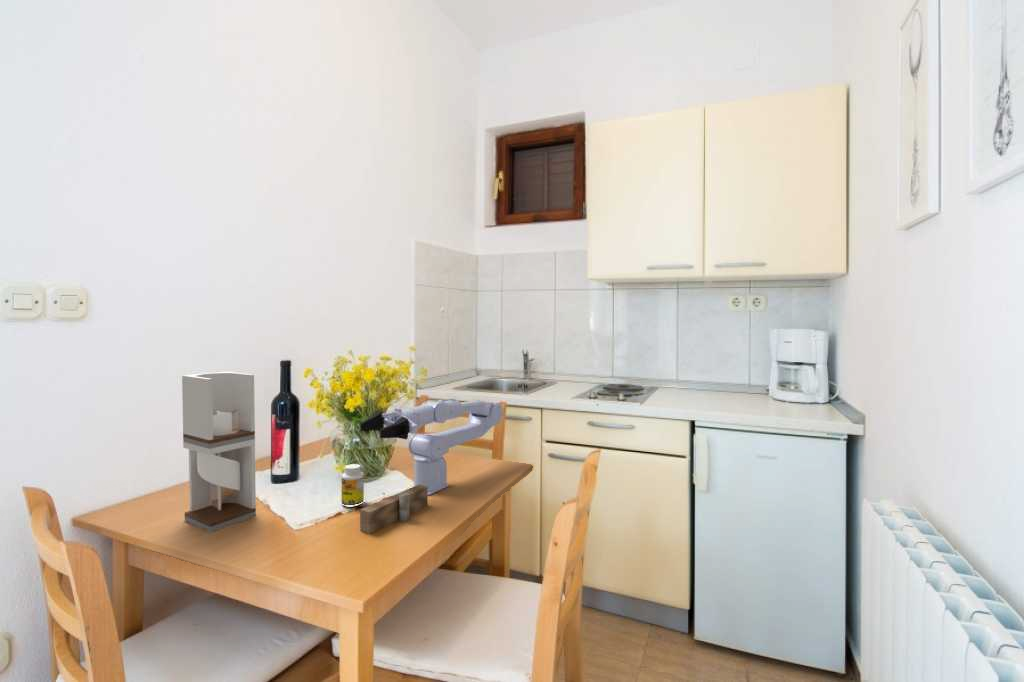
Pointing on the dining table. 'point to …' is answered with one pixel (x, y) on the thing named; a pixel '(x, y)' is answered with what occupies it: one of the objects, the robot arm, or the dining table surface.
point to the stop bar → (393, 509)
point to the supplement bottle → (352, 485)
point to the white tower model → (219, 448)
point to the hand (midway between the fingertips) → (370, 430)
